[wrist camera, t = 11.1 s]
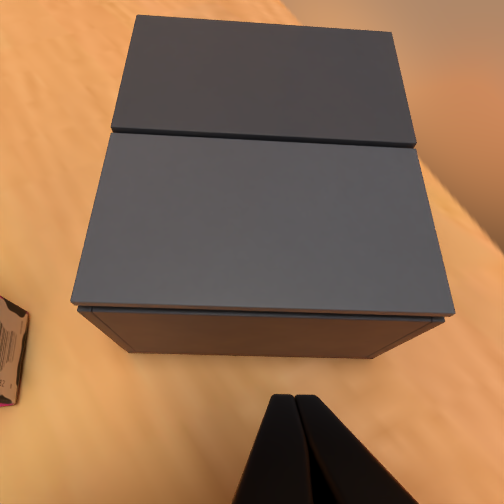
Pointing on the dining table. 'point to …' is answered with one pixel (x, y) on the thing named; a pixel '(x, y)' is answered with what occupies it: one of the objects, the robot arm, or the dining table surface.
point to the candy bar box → (11, 349)
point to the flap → (261, 229)
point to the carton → (264, 129)
